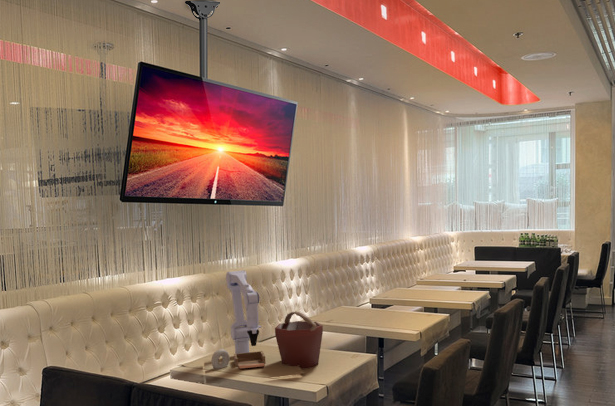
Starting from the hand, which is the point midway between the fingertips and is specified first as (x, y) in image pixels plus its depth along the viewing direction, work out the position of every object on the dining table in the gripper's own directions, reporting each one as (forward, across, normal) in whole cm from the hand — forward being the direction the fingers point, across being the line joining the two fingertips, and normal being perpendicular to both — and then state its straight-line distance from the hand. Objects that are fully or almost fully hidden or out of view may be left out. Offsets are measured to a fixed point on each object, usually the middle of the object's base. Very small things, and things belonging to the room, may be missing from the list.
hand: (253, 345), depth 281 cm
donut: (+10, -2, +16) cm, 19 cm away
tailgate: (+8, -5, +2) cm, 10 cm away
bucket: (+10, -6, -21) cm, 24 cm away
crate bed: (+10, +2, +2) cm, 10 cm away
